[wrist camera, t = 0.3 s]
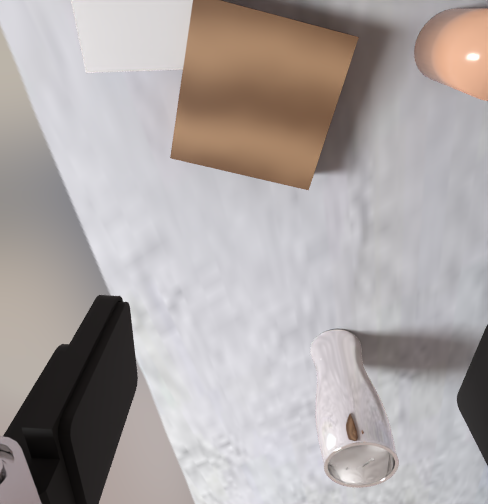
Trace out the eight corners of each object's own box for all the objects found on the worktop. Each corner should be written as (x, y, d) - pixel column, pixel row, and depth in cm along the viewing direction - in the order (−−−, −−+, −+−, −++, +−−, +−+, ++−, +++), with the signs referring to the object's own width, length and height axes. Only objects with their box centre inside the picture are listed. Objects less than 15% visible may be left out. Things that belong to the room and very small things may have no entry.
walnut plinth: (201, -5, 32) (194, -7, 29) (348, 34, 33) (358, 37, 30) (178, 144, 38) (170, 158, 35) (304, 174, 39) (308, 190, 36)
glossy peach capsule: (431, 0, 32) (486, -2, 24) (494, 18, 33) (568, 20, 25) (403, 72, 35) (445, 90, 27) (462, 87, 35) (519, 109, 27)
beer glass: (361, 321, 48) (398, 436, 35) (367, 364, 51) (404, 484, 38) (301, 331, 49) (315, 447, 36) (311, 373, 52) (328, 492, 39)
